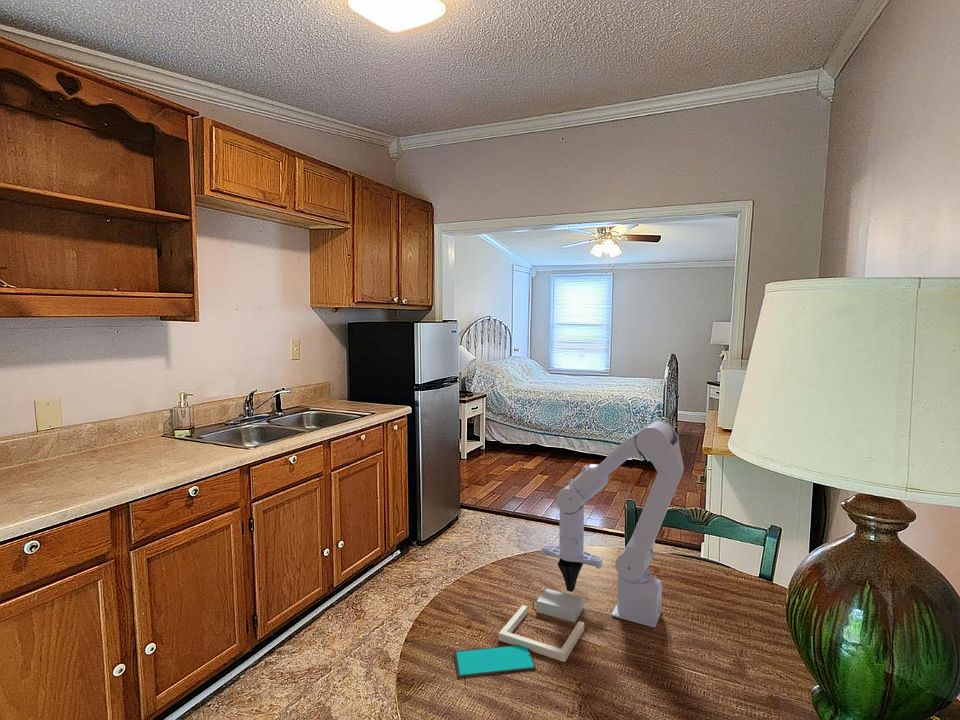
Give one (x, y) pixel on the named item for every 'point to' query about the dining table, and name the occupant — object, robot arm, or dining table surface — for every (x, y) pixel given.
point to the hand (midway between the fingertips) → (570, 589)
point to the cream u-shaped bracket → (537, 646)
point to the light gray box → (560, 605)
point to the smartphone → (493, 661)
